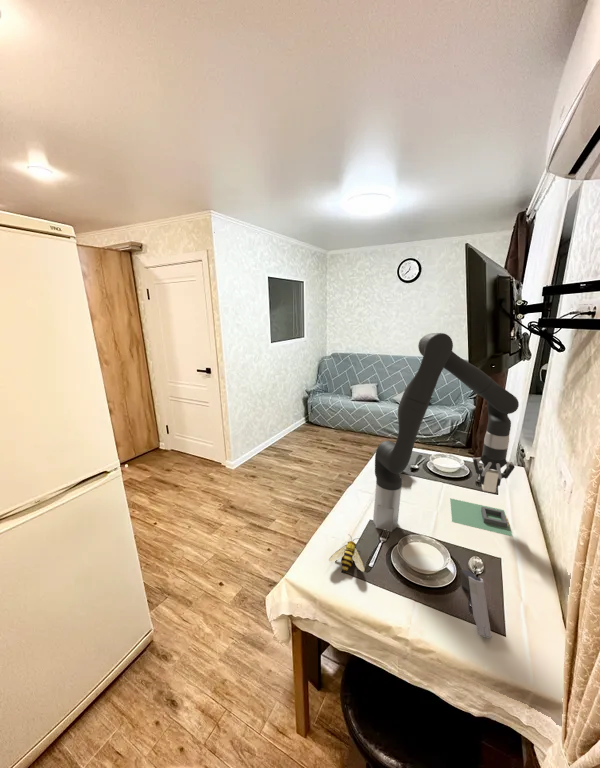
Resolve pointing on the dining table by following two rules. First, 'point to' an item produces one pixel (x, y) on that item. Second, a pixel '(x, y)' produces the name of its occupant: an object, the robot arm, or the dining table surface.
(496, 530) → the board
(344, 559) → the insect
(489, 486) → the plug
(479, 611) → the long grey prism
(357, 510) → the dining table surface
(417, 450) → the dining table surface
